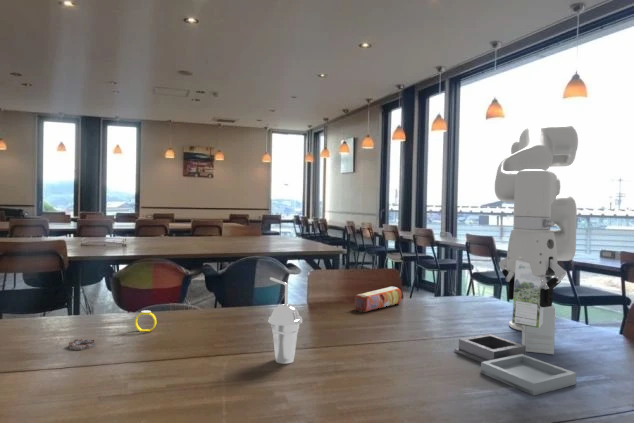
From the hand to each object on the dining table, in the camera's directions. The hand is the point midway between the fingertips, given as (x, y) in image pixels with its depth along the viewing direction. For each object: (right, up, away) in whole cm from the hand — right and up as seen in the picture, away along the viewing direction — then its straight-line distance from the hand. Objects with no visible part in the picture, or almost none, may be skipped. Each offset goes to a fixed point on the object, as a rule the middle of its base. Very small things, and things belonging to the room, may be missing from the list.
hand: (529, 302), depth 104 cm
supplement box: (+12, -17, +22) cm, 30 cm away
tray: (0, -17, 0) cm, 17 cm away
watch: (-99, -15, +32) cm, 105 cm away
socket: (-3, -17, +16) cm, 23 cm away
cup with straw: (-56, -16, +9) cm, 59 cm away
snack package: (-25, -16, +69) cm, 75 cm away
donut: (-110, -16, +17) cm, 112 cm away
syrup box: (0, -5, 0) cm, 5 cm away
